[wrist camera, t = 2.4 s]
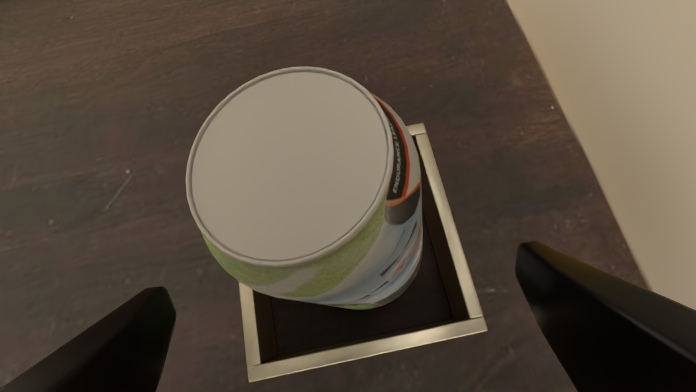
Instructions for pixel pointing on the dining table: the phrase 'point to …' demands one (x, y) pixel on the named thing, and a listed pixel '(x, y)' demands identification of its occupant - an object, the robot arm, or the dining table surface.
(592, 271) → the robot arm
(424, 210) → the frame
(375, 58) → the dining table surface
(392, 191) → the beverage can
